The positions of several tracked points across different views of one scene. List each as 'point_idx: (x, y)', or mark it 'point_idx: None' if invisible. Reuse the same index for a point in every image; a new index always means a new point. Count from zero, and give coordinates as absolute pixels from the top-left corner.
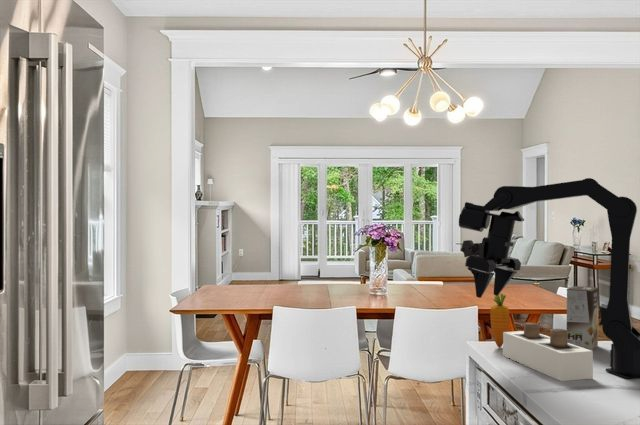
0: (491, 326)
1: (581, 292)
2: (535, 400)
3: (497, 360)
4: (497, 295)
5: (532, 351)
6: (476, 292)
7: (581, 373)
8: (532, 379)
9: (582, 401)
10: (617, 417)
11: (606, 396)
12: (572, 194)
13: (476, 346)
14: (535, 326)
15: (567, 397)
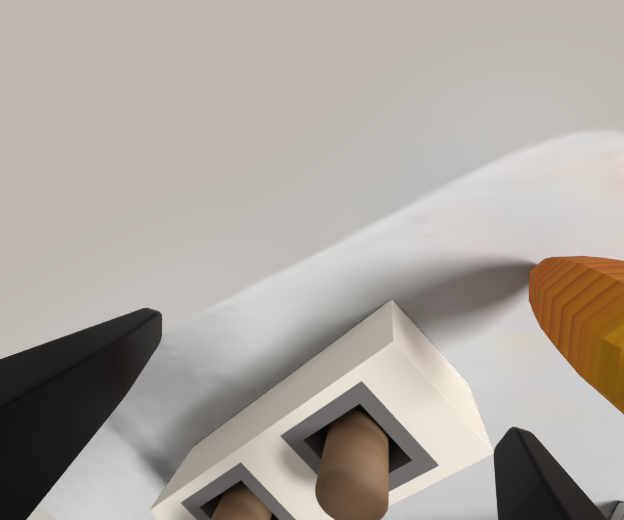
0: (571, 264)
1: None
2: None
3: (316, 288)
4: (495, 453)
5: (252, 424)
6: (105, 326)
7: None
8: (170, 388)
9: (86, 468)
10: (46, 503)
11: (142, 510)
12: None
13: (525, 172)
14: (321, 504)
15: (92, 446)
